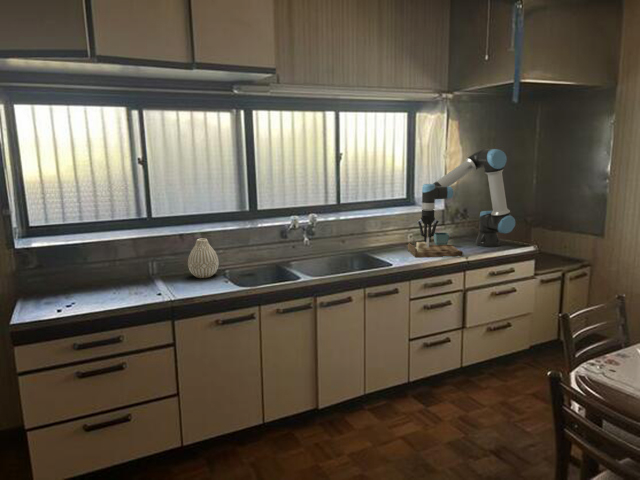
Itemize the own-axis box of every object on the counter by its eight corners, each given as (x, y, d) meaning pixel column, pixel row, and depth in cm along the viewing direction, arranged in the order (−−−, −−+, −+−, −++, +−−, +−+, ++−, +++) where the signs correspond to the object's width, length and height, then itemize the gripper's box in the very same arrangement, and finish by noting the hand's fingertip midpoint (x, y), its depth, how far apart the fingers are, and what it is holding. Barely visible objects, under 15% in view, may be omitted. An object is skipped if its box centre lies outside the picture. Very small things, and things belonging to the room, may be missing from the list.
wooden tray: (451, 249, 316) (452, 241, 315) (462, 256, 296) (462, 248, 295) (407, 250, 314) (407, 243, 313) (415, 257, 295) (415, 249, 294)
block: (424, 249, 304) (424, 241, 303) (426, 251, 300) (426, 243, 299) (416, 249, 304) (416, 242, 303) (418, 251, 299) (418, 243, 298)
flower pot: (449, 248, 320) (449, 234, 318) (435, 248, 320) (435, 234, 318) (445, 245, 329) (446, 232, 327) (432, 245, 329) (433, 232, 327)
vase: (182, 277, 258) (180, 240, 255) (206, 270, 271) (204, 235, 267) (201, 281, 248) (198, 243, 245) (225, 275, 261) (223, 238, 257)
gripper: (436, 208, 300) (435, 245, 304) (416, 208, 299) (415, 246, 304) (440, 210, 293) (439, 248, 297) (419, 210, 292) (418, 249, 296)
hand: (427, 247), depth 300 cm, fingers closed
